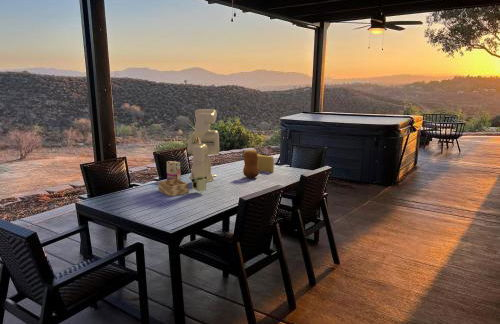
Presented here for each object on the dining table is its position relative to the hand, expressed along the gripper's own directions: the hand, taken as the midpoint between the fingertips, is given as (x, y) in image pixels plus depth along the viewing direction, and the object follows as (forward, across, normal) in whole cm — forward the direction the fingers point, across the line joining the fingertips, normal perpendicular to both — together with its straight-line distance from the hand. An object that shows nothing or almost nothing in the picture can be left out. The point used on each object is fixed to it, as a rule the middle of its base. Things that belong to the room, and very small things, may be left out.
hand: (199, 186), depth 257 cm
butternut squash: (+6, -60, -15) cm, 62 cm away
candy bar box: (+6, -2, -45) cm, 45 cm away
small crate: (+2, 0, 0) cm, 2 cm away
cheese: (+7, -87, -29) cm, 92 cm away
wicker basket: (+5, +13, -15) cm, 20 cm away
